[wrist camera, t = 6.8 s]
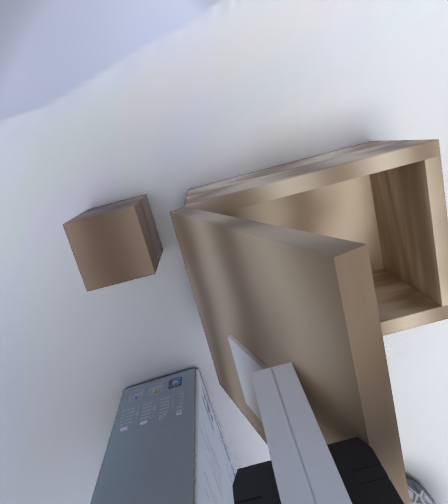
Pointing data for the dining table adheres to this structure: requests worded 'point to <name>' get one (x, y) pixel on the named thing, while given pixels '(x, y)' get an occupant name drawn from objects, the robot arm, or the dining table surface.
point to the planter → (418, 493)
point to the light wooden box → (360, 216)
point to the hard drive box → (165, 447)
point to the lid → (294, 323)
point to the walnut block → (115, 242)
